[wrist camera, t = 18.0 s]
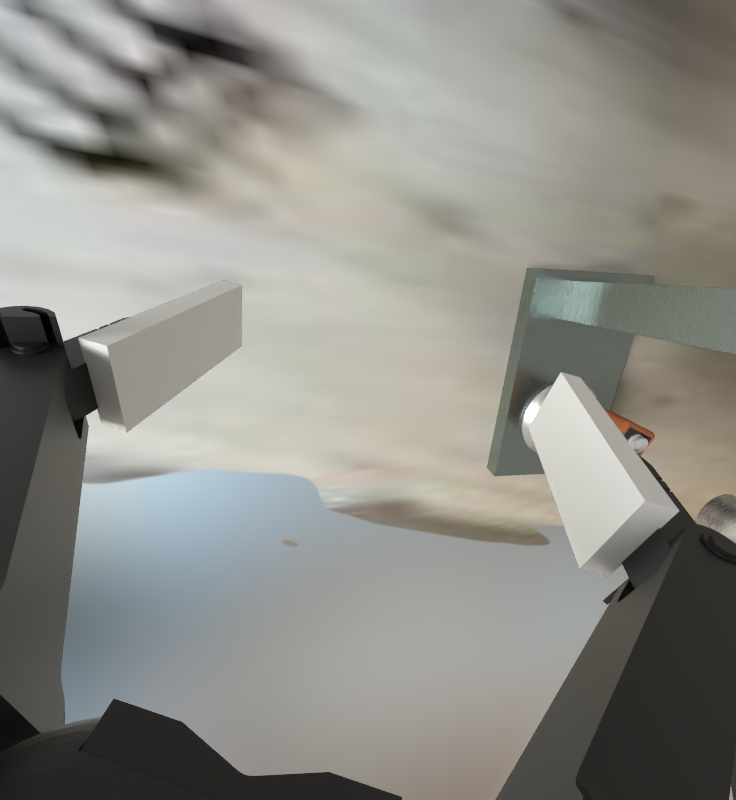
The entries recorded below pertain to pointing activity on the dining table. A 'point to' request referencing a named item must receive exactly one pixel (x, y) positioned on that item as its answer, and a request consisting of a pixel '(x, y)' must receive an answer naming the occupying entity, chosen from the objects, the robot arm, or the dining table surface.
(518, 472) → the arbor press
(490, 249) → the dining table surface
